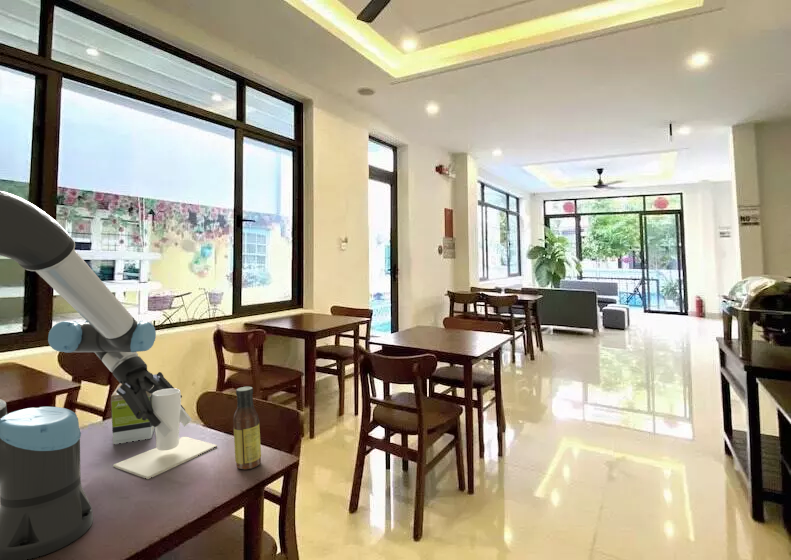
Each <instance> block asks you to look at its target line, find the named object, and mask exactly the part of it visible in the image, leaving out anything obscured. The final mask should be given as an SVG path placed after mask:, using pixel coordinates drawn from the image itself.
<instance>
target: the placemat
mask: <svg viewBox="0 0 791 560" xmlns="http://www.w3.org/2000/svg"><path fill="white" fill-rule="evenodd" d="M216 446H217V447H218V445H217V444H214V443H211V442H208V441H205V440H204V441H203V440H199V439H196V438H192V437H188V436H181V437H179V444H178V446H177V447H175V448H173V449H170V450H164V451H162V450H158V449H157V448H156V447H154V448H152V449H149V450H146V451H145V452H141V453H139V454H136V455H134V456H131V457H129V458H127V459H124V460H122V461H119V462H116V463H114V464H113V465H112V466H113V468H116V469H118V470H121V471H124V472H127V473H130V474H132V475H135V476H138V477H140V478H142V479H145V478H146V480H149V479H152V478H154V477H156V476H158V475H160V474H163V473H165V472H166V471H169V470H171V469H173V468H175V467H177V466H180V465H182V464H183V463H186V462H188V461H191V460H193V459H195V458H196V457H199V456H201V455H203V454H202V453H204V452H206V451H208V450H210V449H212V448H214V447H216ZM214 449H215V448H214ZM212 450H213V449H212ZM210 451H211V450H210ZM208 452H209V451H208ZM206 453H207V452H206ZM200 454H201V455H200ZM204 454H205V453H204ZM198 455H199V456H198ZM151 477H152V478H151Z"/></svg>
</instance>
